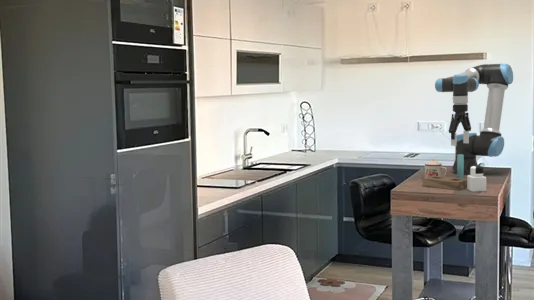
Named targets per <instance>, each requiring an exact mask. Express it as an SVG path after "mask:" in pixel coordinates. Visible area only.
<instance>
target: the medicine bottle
mask: <svg viewBox="0 0 534 300" xmlns="http://www.w3.org/2000/svg"><path fill="white" fill-rule="evenodd" d="M466 179H467V188H466V190H467V191H469V192H473V193H475V192H477V193H478V192H479V193H481V192H487V177H486V176H484V167H483V166H480V165H478V166H472V167H471V168H470V174H467V177H466Z"/></svg>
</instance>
